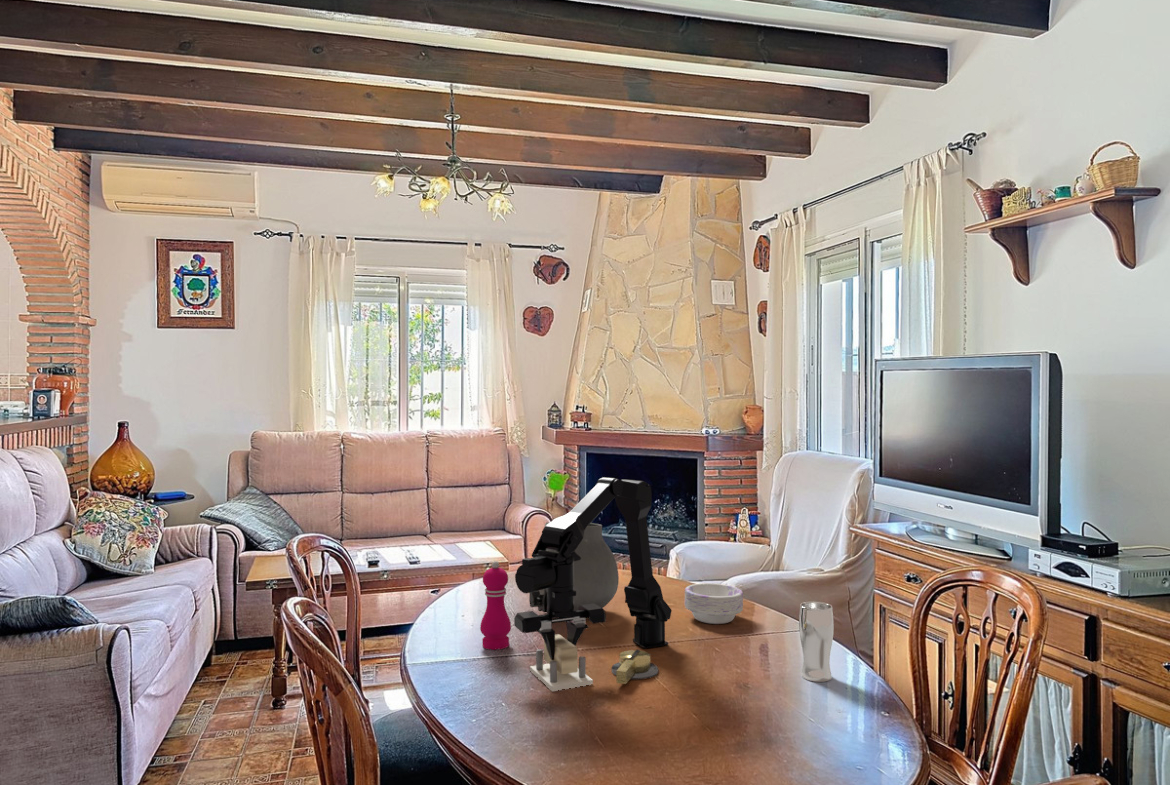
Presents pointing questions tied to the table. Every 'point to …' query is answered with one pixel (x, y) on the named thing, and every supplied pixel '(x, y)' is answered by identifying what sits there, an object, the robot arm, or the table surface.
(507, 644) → the pepper mill
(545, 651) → the beech bar
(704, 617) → the paper bowls
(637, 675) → the base
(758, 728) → the table surface
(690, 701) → the table surface
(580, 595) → the ceramic pot
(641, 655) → the brass lever handle
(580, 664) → the peg rack
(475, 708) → the table surface
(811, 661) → the beer glass
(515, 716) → the table surface
